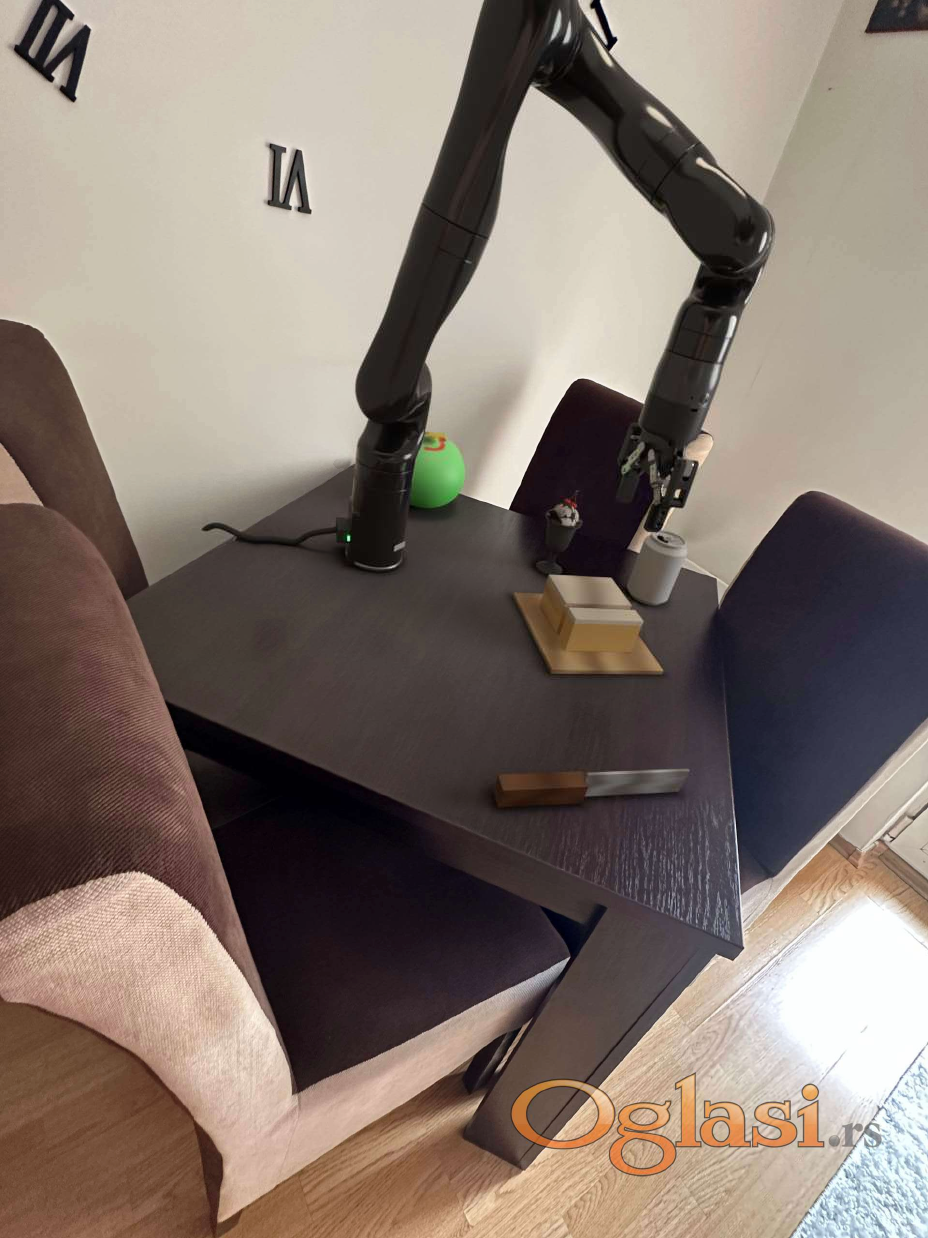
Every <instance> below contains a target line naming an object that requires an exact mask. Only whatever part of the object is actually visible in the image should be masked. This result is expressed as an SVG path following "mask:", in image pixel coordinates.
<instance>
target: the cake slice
mask: <svg viewBox="0 0 928 1238" xmlns="http://www.w3.org/2000/svg"><path fill="white" fill-rule="evenodd" d="M643 624H644V620H643V618H642V617H641V615H639V614H638V611H636V609H630V610H623V609H597V608H571V607H569V608H568V611H567V614H566V617H565V620H564V623H563V626H562V629H561V632H560V635H559V638H558V639H559V641H560V643H561V645H562V647H563V648H564V650H565V651H594V652H631V650H632V648H633V646H634V643H635V641H636V638H637V636H638V635H639V633H640V631H641V629H642V626H643Z"/></svg>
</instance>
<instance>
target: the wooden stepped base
mask: <svg viewBox="0 0 928 1238" xmlns="http://www.w3.org/2000/svg"><path fill="white" fill-rule="evenodd" d="M543 589H544V590H543V593H535V592H534V593H533V592H513V593H512V598H513V600H514V602H515V605H516V606H517V608H518V611H519V612H520V614H521V617H522V618H523V621H524V623H525V625H526V626H527V629H528V630H529V632H530V634H531V637H532V639H533V641H534V643H535V645H536V647H537V649H538V650H539V653H540V654H541V658H542V659H543V662H544V663H545V665H546V667H547V669H548V671H549V673H550V674H551V675H552V674H553V675H657V676H658V675H659V676H660V675H663V673H664V669H663V668H662V666H661V665H660V663H659V662H658V660H657V659H656V658H655V657H654V655H653V653H652V652H651V651H650V650H649V648H648V647H647V645H646V643H645V642H644V641H643V640H642V638H641V636H639V634H638V636H637V638H636V641H635V643H634V646H633V648H632V650H631V652H594V651H565V650H564V648H563V647H562V645H561V643H560V641H559V639H558V638H559V635H560V632H561V629H562V626H563V623H564V620H565V617H566V614H567V611H568V608H569V607H571V608H597V609H623V610H632V609H631V608H632V606H633V605H632V604H631V603H630V602H631V601H629V599H628V598H627V597H626V596H625V594H624V593H623V592H622V590H621V589H620V587H619V586H618V585H617V584H616V582H615V580H614V579H613V578H612V577H604V576H603V577H601V576H586V575H584V576H583V575H568V574H567V575H565V574H562V575H561V574H559V575H548V576H547V579H546V583H545V586H544V588H543Z"/></svg>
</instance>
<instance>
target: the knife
mask: <svg viewBox="0 0 928 1238" xmlns="http://www.w3.org/2000/svg"><path fill="white" fill-rule="evenodd" d="M689 773H690V769H689V768H674V769H673V768H669V769H668V768H667V769H646V770H645V769H642V770H641V769H640V770H621V771H619V770H618V771H617V770H616V771H595V772H594V771H593V772H586V774H585V776H584V772H583V771H580V770H579V771H560V772H559V771H558V772H557V771H555V772H532V773H530V772H529V773H507V774H505V773H504V774H497V777H496V780H495V783H494V786H493V790H492V794H493V797H494V801H495V804H496V807H497V808H500V809H501V808H518V807H537V806H538V807H539V806H552V805H554V806H555V805H573V804H574V805H575V804H583V801H584V799H585V797H601V796H602V797H603V796H623V795H642V794H661V793H663V794H665V793H679V791H680V790H681V788H682V786H683V785H684V782H685V781H686V779H687V777H688V775H689Z"/></svg>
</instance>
